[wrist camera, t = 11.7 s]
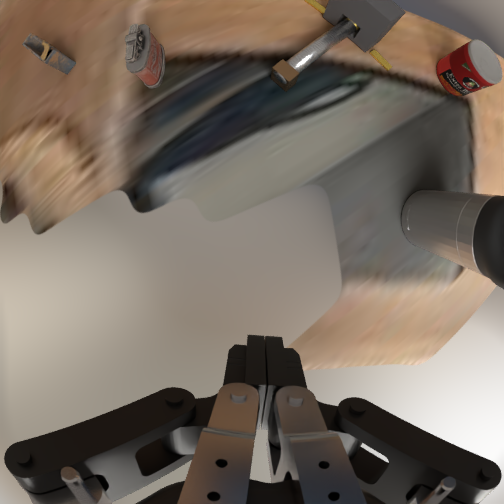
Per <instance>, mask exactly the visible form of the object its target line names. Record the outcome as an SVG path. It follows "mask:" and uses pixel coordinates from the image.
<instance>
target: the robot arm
mask: <svg viewBox="0 0 504 504" xmlns="http://www.w3.org/2000/svg"><path fill="white" fill-rule="evenodd" d="M401 222H402V229H403V232H404V234H405V236H406V238H407V239H408V240H409V242H410V243H412V244H413V245H415V246H417V247H420V248H422V249H424V250H427V251H429V252H431V253H434V254H436V255H438V256H441V257H443V258H445V259H448V260H450V261H452V262H455V263H457V264H459V265H461V266H464V267H466V268H468V269H470V270H473V271H475V272H477V273H479V274H481V275H484V276H486V277H488V278H490V279H491V280H492V281H493V282H494V283H495V284H496V285H498V286H499V287H501V288H503V289H504V196H498V195H488V194H475V193H463V192H450V191H435V190H420V191H417V192H415V193H413V194H412V195H411V196H410V197H409V198H408V199H407V201H406V203H405V205H404V207H403V211H402V218H401ZM260 423H261V429H266V430H268V439H267V444H266V446H267V452H268V461H269V467H270V475H271V483H264V482H260V481H256V480H251V479H250V471H251V463H252V456H253V448H254V440H255V435H256V429H260ZM362 443H364V444H366V445H367V446H369V447H371V448H372V449H374V450H376V451H377V452H379V453H381V454H382V455H384V456H385V457H387V459H388V461H389V463H388V462H385V461H384V460H382V459H380V458H378V457H377V456H375V455H374V454H372V453H370V452H368V451H367V450H365V449H364V448H362V447H360V446H361V444H362ZM4 460H5V464H6V467H7V468H8V470H9V471H10V472H11V473H12V474H13V476H14V477H15V478H16V480H17V481H18V482H19V484H20V486H21V487H22V488H23V489H24V490H25V491H26V492H27V493H28V495H29V496H30V499H31V501H32V503H33V504H112V502H113V501H116V500H118V499H120V498H122V497H124V496H127V495H128V494H131V493H133V492H135V491H137V490H139V489H141V488H143V487H145V486H147V485H148V484H150V483H152V482H154V481H156V480H158V479H160V478H161V477H163V476H165V475H167V474H169V473H170V472H172V471H174V470H175V469H177V468H179V467H180V466H182V465H184V464H185V463H187V462H189V461H190V460H192V462H191V465H190V468H189V471H188V474H187V477H186V480H185V481H182V482H178V483H174V484H171V485H169V486H166V487H164V488H162V489H160V490H158V491H157V492H155V493H153V494H152V495H150V496H148V497H147V498H145V499H143V500H141V501H140V502H138V503H136V504H479V503H480V502H481V501H482V500H483V499H484V498H485V497H486V496H487V495H488V494H489V493H490V492H491V491H492V490H493V489H494V488H495V487H496V486H497V485H498V484H499V483H500V480H501V470H500V468H499V467H498V465H497V464H496V463H494V462H493V461H491V460H488V459H486V458H483V457H481V456H479V455H476V454H474V453H472V452H469V451H467V450H464V449H462V448H460V447H458V446H456V445H454V444H451V443H449V442H447V441H445V440H443V439H440V438H438V437H436V436H434V435H432V434H430V433H428V432H426V431H424V430H422V429H420V428H418V427H416V426H414V425H412V424H410V423H408V422H406V421H404V420H402V419H400V418H398V417H397V416H395V415H393V414H391V413H389V412H387V411H385V410H383V409H382V408H380V407H378V406H376V405H374V404H373V403H371V402H369V401H367V400H365V399H362V398H356V397H352V398H347V399H344V400H343V401H341V402H340V403H339V406H333V405H328V404H324V403H321V402H319V401H317V400H316V398H315V396H314V394H313V393H312V392H311V391H310V390H308V389H307V385H306V382H305V377H304V373H303V369H302V364H301V360H300V356H299V354H298V353H297V352H296V351H295V350H294V349H293V348H284V346H283V340H282V337H274V336H265V341H264V336H259V335H248V339H247V345H234V346H233V347H232V348H231V349H230V350H229V353H228V359H227V365H226V371H225V377H224V383H223V387H221V388H220V390H219V392H218V393H217V394H216V395H214V396H211V397H207V398H198V399H195V397H194V395H193V394H192V393H191V392H189V391H187V390H185V389H182V388H175V387H171V388H166V389H163V390H160V391H158V392H156V393H154V394H151V395H149V396H147V397H144V398H142V399H140V400H137V401H135V402H133V403H130V404H128V405H126V406H123V407H120V408H118V409H115V410H113V411H110V412H108V413H105V414H102V415H100V416H97V417H95V418H92V419H89V420H86V421H84V422H81V423H78V424H75V425H73V426H70V427H66V428H63V429H60V430H57V431H54V432H51V433H48V434H45V435H41V436H38V437H34V438H31V439H28V440H24V441H20V442H17V443H14V444H12V445H11V446H10V447H9V448H8V449H7V451H6V453H5V457H4Z"/></svg>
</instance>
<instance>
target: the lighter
mask: <svg viewBox="0 0 504 504" xmlns="http://www.w3.org/2000/svg"><path fill="white" fill-rule="evenodd" d="M125 42H126V45H127V48H126V57H125V60H126V66H127V69H128V70H129V71H130V72H131V73H134V74H135V75H137V76H138V77H139V78H140V79H141V80H142V81H143V82H144V84H145V85H146V86H147V87H148V88H156V87H158V86H159V85H160V84H161V82H162V79H163V75H164V69H165V53H164V48H163V47H162V45H161V44H159V43H158V42H157V40H156V39H155V38H154V36H153V35H152V33H151V32H150V28H149V27H148V26H147V25H145V24H142V25H138V24H133V25H131V26H130V28H129V35H126V37H125Z"/></svg>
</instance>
